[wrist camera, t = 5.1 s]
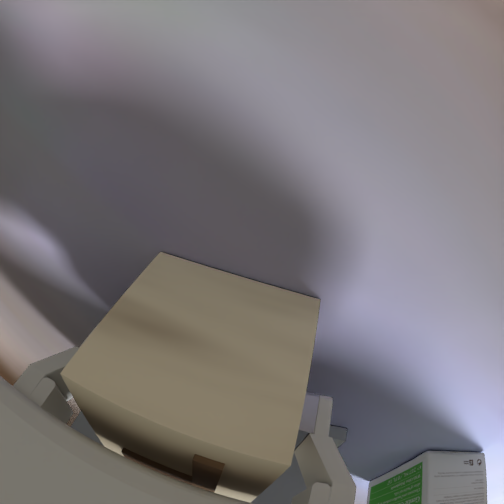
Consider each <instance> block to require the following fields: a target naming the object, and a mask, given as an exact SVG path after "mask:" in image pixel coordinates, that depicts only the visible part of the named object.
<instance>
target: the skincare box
mask: <svg viewBox="0 0 504 504" xmlns="http://www.w3.org/2000/svg"><path fill="white" fill-rule="evenodd" d="M367 504H487V480H486V464H485V455H484V453H479V452H451V451H426V452H424V453H422V454H421V455H419V456H418V457H416V458H415V459H413V460H411V461H409V462H407V463H405V464H403V465H401V466H400V467H398V468H396V469H394V470H392V471H390V472H388V473H386V474H384V475H382V476H380V477H378V478H376V479H374V480H372V481H370V482H369V488H368V497H367Z"/></svg>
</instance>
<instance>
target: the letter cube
mask: <svg viewBox="0 0 504 504" xmlns="http://www.w3.org/2000/svg"><path fill="white" fill-rule="evenodd" d="M319 307H320V299H317V298H313V297H310V296H306V295H303V294H299V293H296V292H292V291H289V290H285V289H282V288H278V287H275V286H271V285H268V284H264V283H261V282H258V281H254V280H251V279H248V278H244V277H241V276H237V275H234V274H231V273H228V272H224V271H221V270H218V269H214V268H211V267H208V266H204V265H201V264H198V263H195V262H192V261H188V260H185V259H182V258H179V257H175V256H172V255H169V254H166V253H163V252H160V253H159V254H158V255H157V256H156V257H155V258H154V259H153V261H152V262H151V263H150V264H149V265H148V266H147V267H146V269H145V270H144V271H143V272H142V273H141V274H140V275H139V277H138V278H137V279H136V280H135V281H134V282H133V284H132V285H131V286H130V287H129V288H128V289H127V291H126V292H125V293H124V294H123V295H122V296H121V298H120V299H119V300H118V301H117V302H116V304H115V305H114V306H113V307H112V308H111V310H110V311H109V312H108V313H107V314H106V316H105V317H104V318H103V319H102V321H101V322H100V323H99V324H98V325H97V327H96V328H95V329H94V330H93V332H92V333H91V334H90V335H89V337H88V338H87V339H86V340H85V342H84V343H83V344H82V345H81V347H80V348H79V349H78V351H77V352H76V353H75V354H74V356H73V357H72V358H71V360H70V361H69V362H68V364H67V365H66V366H65V368H64V369H63V370H62V372H61V373H60V374H61V376H62V378H63V380H64V382H65V384H66V385H67V387H68V389H69V391H70V393H71V394H72V396H73V398H74V400H75V401H76V403H77V405H78V406H79V408H80V410H81V411H82V413H83V415H84V416H85V418H86V419H87V421H88V423H89V424H90V426H91V427H92V429H93V430H94V432H95V433H96V435H97V436H98V438H99V439H100V441H101V442H102V444H103V445H104V447H106V448H108V449H110V450H112V451H114V452H116V453H118V454H120V455H122V456H124V457H126V458H128V459H130V460H132V461H134V462H136V463H139V464H141V465H143V466H145V467H147V468H150V469H152V470H154V471H157V472H159V473H161V474H164V475H166V476H169V477H171V478H174V479H177V480H179V481H182V482H185V483H187V484H190V485H193V486H196V487H199V488H202V489H205V490H208V491H211V492H214V493H217V494H220V495H224V496H227V497H231V498H234V499H238V500H242V501H246V502H250V503H251V502H252V501H253V500H254V499H255V498H256V497H258V496H259V495H260V494H261V493H262V492H263V491H264V490H265V489H267V488H268V487H269V486H270V485H271V484H272V483H273V482H274V481H275V480H276V479H277V478H278V477H280V476H281V475H282V474H283V473H284V472H285V471H286V470H287V469H288V468H289V467H290V466H291V463H292V458H293V454H294V449H295V445H296V440H297V436H298V431H299V426H300V421H301V416H302V411H303V406H304V401H305V395H306V390H307V384H308V379H309V373H310V367H311V361H312V355H313V349H314V342H315V336H316V329H317V322H318V315H319Z"/></svg>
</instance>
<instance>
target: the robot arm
mask: <svg viewBox="0 0 504 504" xmlns="http://www.w3.org/2000/svg"><path fill="white" fill-rule="evenodd" d="M99 323H100V322H99ZM99 323H98V324H99ZM98 324H97V325H98ZM96 327H97V326H96ZM96 327H95V328H96ZM95 328H94V329H95ZM94 329H93V330H94ZM92 332H93V331H92ZM92 332H91V333H92ZM91 333H90V334H91ZM90 334H89V335H90ZM88 337H89V336H88ZM88 337H87V338H88ZM87 338H86V339H87ZM86 339H85V340H86ZM84 342H85V341H84ZM84 342H83V343H84ZM83 343H82V344H83ZM82 344H81V345H82ZM80 347H81V346H80ZM80 347H79V348H80ZM79 348H78V347H73V348H71V349H68V350H66V351H63V352H60V353H58V354H55V355H53V356H50V357H48V358H45V359H42V360H40V361H37V362H35V363H32V364H30V365H29V366H28V368H27V369H26V370H25V371H24V372H23V374H22V375H21V376H20V378H19V379H18V380H17V381H16V383H15V384H14V385H13V386H12V385H11V384H9V383H8V382H7V381H6V380H5V379H3V378H2V377H1V376H0V504H254V503H250V502H246V501H242V500H238V499H234V498H231V497H227V496H224V495H220V494H217V493H214V492H211V491H208V490H205V489H202V488H199V487H196V486H193V485H190V484H187V483H185V482H182V481H179V480H177V479H174V478H171V477H169V476H166V475H164V474H161V473H159V472H157V471H154V470H152V469H150V468H147V467H145V466H143V465H141V464H139V463H136V462H134V461H132V460H130V459H128V458H126V457H124V456H122V455H120V454H118V453H116V452H114V451H112V450H110V449H108V448H106V447H104V446H103V445H101V444H99V443H97V442H95V441H93V440H92V439H90V438H88V437H86V436H85V435H83V434H81V433H80V432H78V431H76V430H75V429H73V428H71V427H70V426H68V425H67V422H68V420H69V419H70V417H71V416H72V414H73V412H72V409H71V408H70V406H69V405H68V403H67V401H68V400H70V399H72V398H73V396H72V394H71V393H70V391H69V389H68V387H67V385H66V384H65V382H64V380H63V378H62V376H61V374H60V373H61V372H62V370H63V369H64V368H65V366H66V365H67V364H68V362H69V361H70V360H71V358H72V357H73V356H74V354H75V353H76V352H77V351H78V349H79ZM332 405H333V399H332V397H328V396H323V395H319V394H316V393H312V392H307V391H306V395H305V401H304V406H303V411H302V416H301V421H300V426H299V431H298V436H297V440H296V445H295V449H294V453H295V456H296V459H297V462H298V465H299V467H300V470H301V473H302V476H303V479H304V482H305V485H306V487H307V489H305V490H304V491H302V492H301V493H299V494H297V495H296V496H294V497H293V498H292V502H291V504H354V500H355V493H356V485H355V483H354V481H353V479H352V477H351V475H350V473H349V471H348V469H347V467H346V465H345V463H344V461H343V459H342V457H341V455H340V453H339V451H338V449H337V447H336V444H335V442H334V440H333V438H332V437H328V436H329V429H330V422H331V414H332Z"/></svg>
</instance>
